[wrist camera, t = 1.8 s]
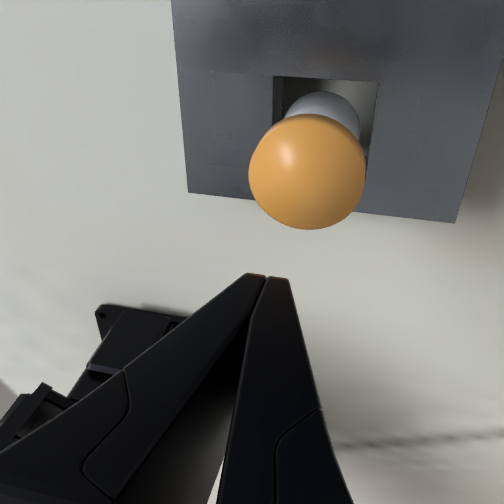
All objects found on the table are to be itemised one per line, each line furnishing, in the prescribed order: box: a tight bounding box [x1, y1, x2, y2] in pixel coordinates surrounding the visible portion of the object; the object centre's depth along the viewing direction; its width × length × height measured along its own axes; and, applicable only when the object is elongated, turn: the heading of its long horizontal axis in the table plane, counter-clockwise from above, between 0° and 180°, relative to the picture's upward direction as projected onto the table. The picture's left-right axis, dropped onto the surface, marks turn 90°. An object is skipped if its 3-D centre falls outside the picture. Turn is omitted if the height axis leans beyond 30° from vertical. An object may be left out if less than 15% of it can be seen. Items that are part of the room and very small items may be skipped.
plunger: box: [248, 91, 366, 230], centre depth 15 cm, size 3×3×4 cm
